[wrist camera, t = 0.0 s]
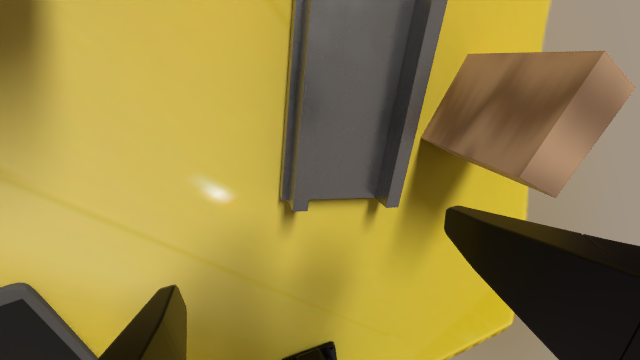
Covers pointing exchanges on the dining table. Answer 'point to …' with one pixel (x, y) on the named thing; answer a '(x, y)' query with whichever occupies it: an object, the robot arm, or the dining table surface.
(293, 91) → the door track
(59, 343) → the cell phone
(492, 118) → the brown wooden block
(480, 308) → the dining table surface
